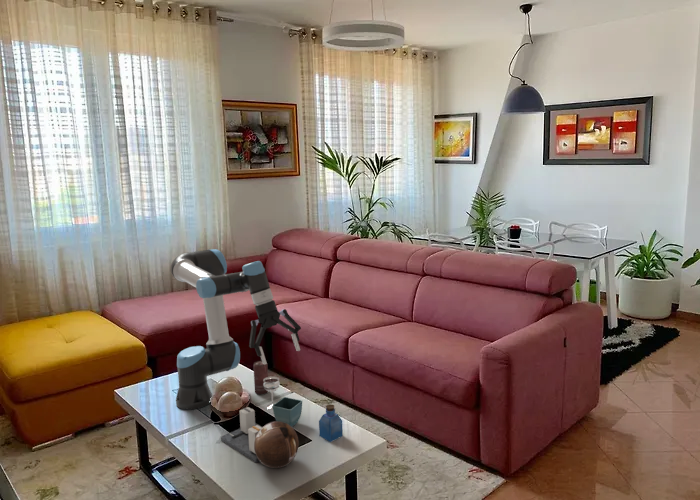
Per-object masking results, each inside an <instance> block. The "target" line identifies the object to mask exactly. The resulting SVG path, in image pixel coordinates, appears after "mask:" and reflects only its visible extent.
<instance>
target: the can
mask: <svg viewBox="0 0 700 500" xmlns="http://www.w3.org/2000/svg"><path fill="white" fill-rule="evenodd" d="M268 369H269V368H268V363H267V364H263V362H262V359H260V360H256V361H254V362H253V381H254V382H253V384H254V385H253V386H254V393H255V394H256V395H259V396H261V395H262V396H263V395H266V394H268V393H269V392H268V391H267V390H265V388H264V386H263V384H264V381H263V380H264V379H265V378H267V377H269V372H268V371H269V370H268Z"/></svg>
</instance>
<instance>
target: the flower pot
mask: <svg viewBox="0 0 700 500" xmlns="http://www.w3.org/2000/svg"><path fill="white" fill-rule="evenodd" d="M273 404H274V405H273V406H272V407H273V409H272V411H273V416H274V419H275V421H280V422H284V423H287V424H288V425H290V426H291V427H292V428H293V427H294V426H295V425H296V424H297V423H298V422H299V420H300V419H301V417H302V410H303V400H301V399H298V398H297V399H296V398H291V397H286V396H284V397H282V398H281V399H280V400H278V401H277V402H276V403H273Z"/></svg>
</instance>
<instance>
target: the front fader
mask: <svg viewBox="0 0 700 500" xmlns="http://www.w3.org/2000/svg"><path fill="white" fill-rule="evenodd" d="M258 425H259V424H258ZM258 425H256V426H252V428H250V429H248V436H249V450H250V451H252V452H253V453H255V450H254V442H255V438H256V435H257V433H258V432H259V430H260V429H261V428H262V427H263V426H262V427H260V426H261V425H260V426H258Z"/></svg>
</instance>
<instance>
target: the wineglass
mask: <svg viewBox="0 0 700 500" xmlns="http://www.w3.org/2000/svg"><path fill="white" fill-rule="evenodd" d="M263 381H264V384H263V386H264V388H265V390H267V391H268V393H270V396H271V403H270V404H268V405H267V406H266V408H267V410H268V409H269V410H273V407H272V406H273V405H274V404H275V403H274V392H276V391H277V390H278V389H279V388H280V377H279V376H278V377H277V376H268V377H267V378H265V379H264V380H263Z"/></svg>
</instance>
